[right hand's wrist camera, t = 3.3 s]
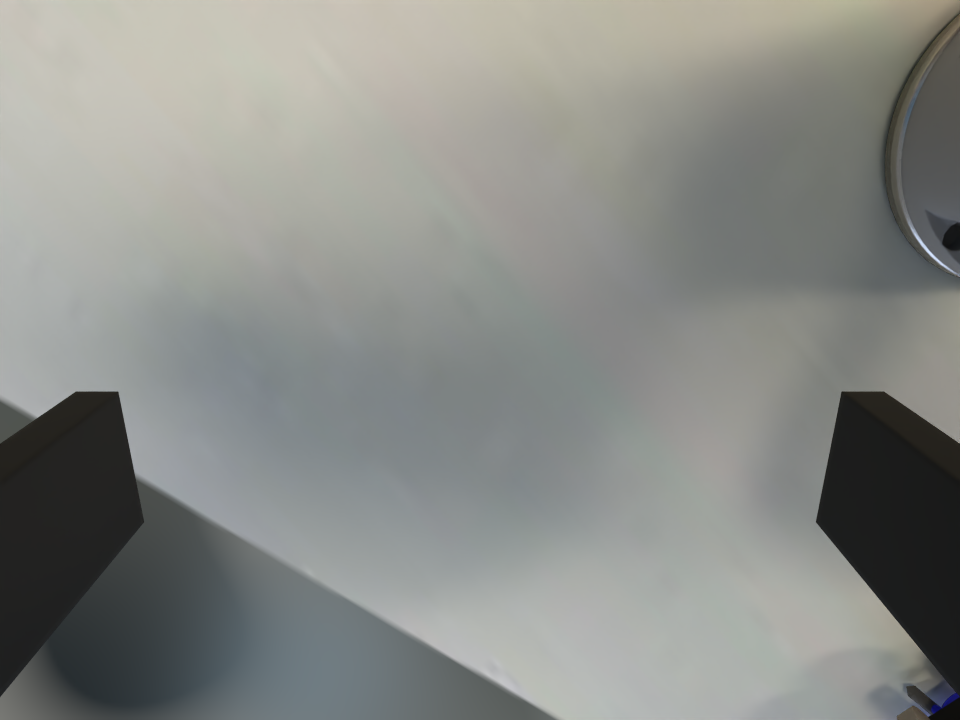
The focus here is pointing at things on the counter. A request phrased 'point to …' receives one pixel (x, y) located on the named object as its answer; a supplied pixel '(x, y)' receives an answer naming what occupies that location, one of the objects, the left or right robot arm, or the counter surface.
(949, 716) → the figurine character
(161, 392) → the counter surface
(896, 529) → the right robot arm
